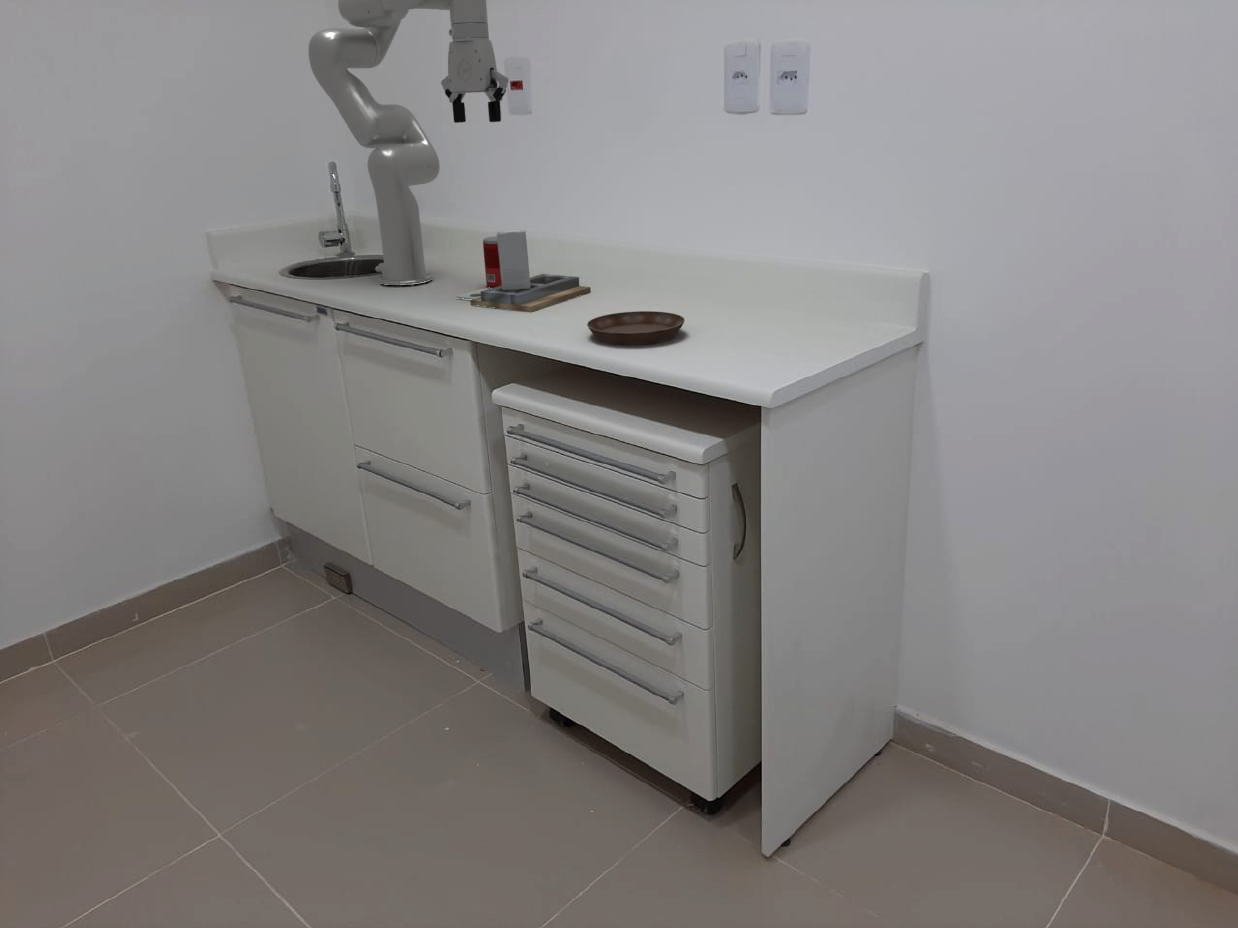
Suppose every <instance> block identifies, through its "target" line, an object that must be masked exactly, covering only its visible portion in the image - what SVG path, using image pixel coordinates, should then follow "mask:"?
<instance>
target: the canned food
mask: <svg viewBox="0 0 1238 928" xmlns="http://www.w3.org/2000/svg"><path fill="white" fill-rule="evenodd" d="M482 247H483V260H484V261H483V262H484V271H485V273H484V274H485V283H486V287H487V288H488V287H490V288H495V287H499V286H502V282H501V272H500V262H499V252H498V242H497V235H496V236H489V237H485V238H483V239H482ZM490 288H489V289H490Z"/></svg>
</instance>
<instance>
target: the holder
mask: <svg viewBox="0 0 1238 928" xmlns="http://www.w3.org/2000/svg"><path fill="white" fill-rule="evenodd" d="M480 293H481V297H479V298H475V299H472V300H470V301H469V302H470V306H471V305H479V306H486V307H485V308H488V307H495V308H494V309H497V308H502V309H501V310H506V309H510V310H509V311H515V310H516V311H517V312H525V313H526V312H527V313H532V312H536V311H539V310H542V309H545V308H548V307H552V306H553V305H557V304H560V303H563V302H566V301H568V299H569V300H572V299H575V298H577V296H578V297H581V296H585V295H587V294H590V293H592V289H591V286H583V285H580V276H573V275H572V276H571V275H560V274H559V275H558V274H547V273H541V274H539V275H535V276H530V289H517V290H502V286H499V287H495V288H492V289H490V288H488V290H485V291H481V292H480ZM580 295H581V296H580ZM574 297H575V298H574ZM571 298H572V299H571ZM479 306H478V307H479ZM516 311H515V312H516Z"/></svg>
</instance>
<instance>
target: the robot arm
mask: <svg viewBox="0 0 1238 928" xmlns="http://www.w3.org/2000/svg"><path fill="white" fill-rule="evenodd" d="M337 8H338V11H339V13H340V16H341V17H342V19H344V20H345V22H347V23H348V24H350V25H351V26H352V27H353V26H354V27H357V28H326V29H321V30H319V31H317V32H316V33H314V34H313V35H312V36H311V38H310V40H309V42H308V61H309V64H310V68H311V72H312V74H313V76H314V78H315V79H316V81H317V83H318V85H320V87H321V89H322V90H323V91H324V92H325V94H326V95H327V96H328V97H329V98H330V100H331V102H332V103H333V104H334V106H335V107H336V109H337V111H338V113H339V114H340V115H341V118H342V119H343V121H344V123H345V124H346V125H347V128H348V129H349V130H350V131H349V132H350V133H351V134H352V136H353V137H354V138H355V141H356V142H358V144H359V145H360V146H362V147H363V148H366V149H373V150H372V151H371V153H370V154H369V156H368V159H367V170H368V175H369V179H370V182H371V185H372V187H373V192H374V196H375V202H376V208H377V209H376V210H377V217H378V224H379V233H380V240H381V249H382V256H383V257H382V258H383V262H380V263H379V264H378V265H376V266H375V268H374V269H375V271H376V272H380V273H382V276H381V277H380V278H379V284H380V283H382V284H388V285H397V284H398V285H400V284H412V283H420V282H424V281H428V280H431V279H432V278H433V275H432V274H431V273H427V272H426V265H425V257H424V256H425V255H424V246H423V236H422V227H421V217H420V209H419V204H418V200H417V199H416V197H415V195H414V194H413V192H412V190H411V189H410V186H411V187H412V186H418V185H425V184H429V183H431V182H433V181H434V180H436V179H437V178H438V175H439V173H440V160H439V157H438V154H437V152H436V150H435V148H434V146H433V145H432V143H431V141H430V139H429V138H428V136H427V134H426V132H425V130H424V129H423V128H422V126H421V124H420V123H419V121H418V119H417V118H416V116H415V115H414V114H413V113H412V112H411V110H409V109H408V108H407V107H405V106H403V105H400V104H393V103H392V104H381V103H379V102H377V101H376V99H375V98H374V97H373V95H372V94H371V91H370V90H369V88H368V87H367V86H366V84H365V83H364V82H363V81H362V80H360V78H358V77H357V76H356V75H355V74H353V73H352V72H351V71H350V70H348V69H373V68H376V67H377V66H379V65H380V64H382V62H383V60H384V59H385V58H386V55H387V53H388V51H389V48H390V46H391V44H392V43H393V40H394V38H395V37H396V33H398V30H399V27H400V24H401V22H402V20H403V19H405V17H407V15H408V13H409V11H410V10H414V9H415V10H417V9H420V10H423V9H424V10H439V11H440V10H441V11H442V10H443V11H449V16H450V17H449V18H450V29H449V30H448V35H449V36H450V37H451V39H452V41H450V42H449V44H448V51H447V52H448V53H447V54H448V56H447V57H448V58H447V76H446V77H444V78H443V79H442V80H441V81H440V83H441V84H440V85H442V88H443V90H444V94H445V95H446V96H447V98H448V101H449V103H451V104H452V105H451V106H452V115H453V122H454V123H456V124H457V123H458V124H460V123H466V120H467V119H466V117H467V115H466V108H465V102H464V101H463V99H464V97H465V95H466V93H469V94H471V93H484V94H485V95H486V96H487V98H488V99H489V101H488V102H487V108H488V120H489V122H490V123H499V122H501V121H502V112H501V111H502V109H501V102H502V101H503V100H504V99H503V97H504V95H506V92H507V87H508V84H509V78H508V77H507V76H505V75H504V74H502V73H500V72H499V71H498V68H497V61H496V57H495V51H494V47H493V43H492V40H490V37H489V36H490V35H489V34H490V33H489V22H488V9H487V8H488V7H487V0H338V3H337ZM362 28H363V29H362Z"/></svg>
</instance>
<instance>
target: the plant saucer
mask: <svg viewBox="0 0 1238 928" xmlns="http://www.w3.org/2000/svg"><path fill="white" fill-rule="evenodd" d="M684 324H685V318H684V317H683V316H682V315H680V314H676V313H673V312H667V311H666V312H664V311H652V310H645V311H644V310H641V311H639V310H638V311H637V310H636V311H624V312H615V313H610V314H605V315H601V316H597V317H594V318H592V319H590V320H588V321H587V323H586V326H587V327H588V329H589V331H590V332H591V334H592V335H593V336H594V337H595V338H597V339H598V340H599V341H600V342H603V343H605V344H607V343H608V344H611V345H619V346H640V345H641V346H642V345H650V344H658V343H661V342H662V343H663V342H665V341H668V340H671V339H672V338H673V337H675V336H676V335H677V334H678V332H679V331H680V330H681V328H682V327H683V325H684Z"/></svg>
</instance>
